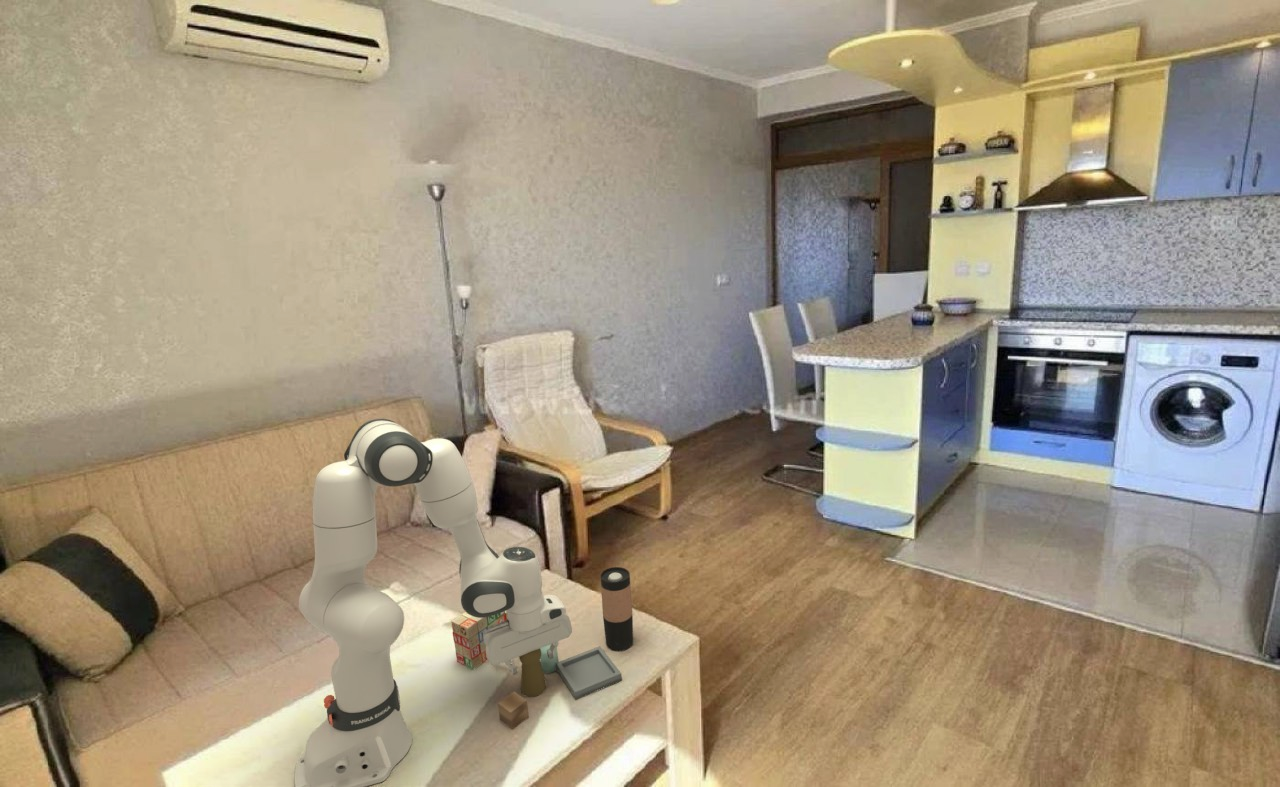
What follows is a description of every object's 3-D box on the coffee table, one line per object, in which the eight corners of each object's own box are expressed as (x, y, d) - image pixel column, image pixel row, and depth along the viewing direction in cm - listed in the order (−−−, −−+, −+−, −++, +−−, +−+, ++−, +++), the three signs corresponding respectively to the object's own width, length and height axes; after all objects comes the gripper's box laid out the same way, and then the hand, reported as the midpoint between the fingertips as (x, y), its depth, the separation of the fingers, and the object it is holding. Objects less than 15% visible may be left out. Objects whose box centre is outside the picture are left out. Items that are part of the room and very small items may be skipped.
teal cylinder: (544, 675, 152) (542, 657, 150) (538, 665, 155) (536, 647, 154) (561, 668, 154) (559, 651, 152) (555, 658, 157) (553, 641, 156)
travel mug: (599, 642, 163) (593, 574, 158) (621, 629, 168) (617, 563, 163) (617, 656, 157) (612, 586, 152) (640, 642, 162) (636, 574, 157)
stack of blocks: (517, 619, 175) (512, 580, 172) (533, 626, 172) (529, 586, 168) (456, 662, 158) (450, 620, 155) (473, 671, 155) (467, 628, 152)
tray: (575, 699, 143) (574, 692, 143) (556, 669, 153) (556, 662, 153) (621, 680, 148) (621, 673, 148) (600, 652, 159) (600, 646, 158)
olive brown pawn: (541, 698, 144) (537, 657, 141) (516, 695, 145) (512, 655, 143) (550, 680, 150) (546, 640, 147) (526, 677, 151) (522, 638, 148)
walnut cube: (512, 729, 135) (510, 712, 134) (500, 720, 138) (497, 703, 137) (528, 717, 139) (526, 700, 137) (516, 708, 142) (514, 691, 140)
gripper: (486, 637, 136) (493, 690, 139) (571, 605, 145) (577, 655, 149) (478, 622, 141) (485, 673, 145) (561, 592, 150) (566, 641, 154)
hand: (532, 664), depth 147 cm, fingers open, 8 cm apart
